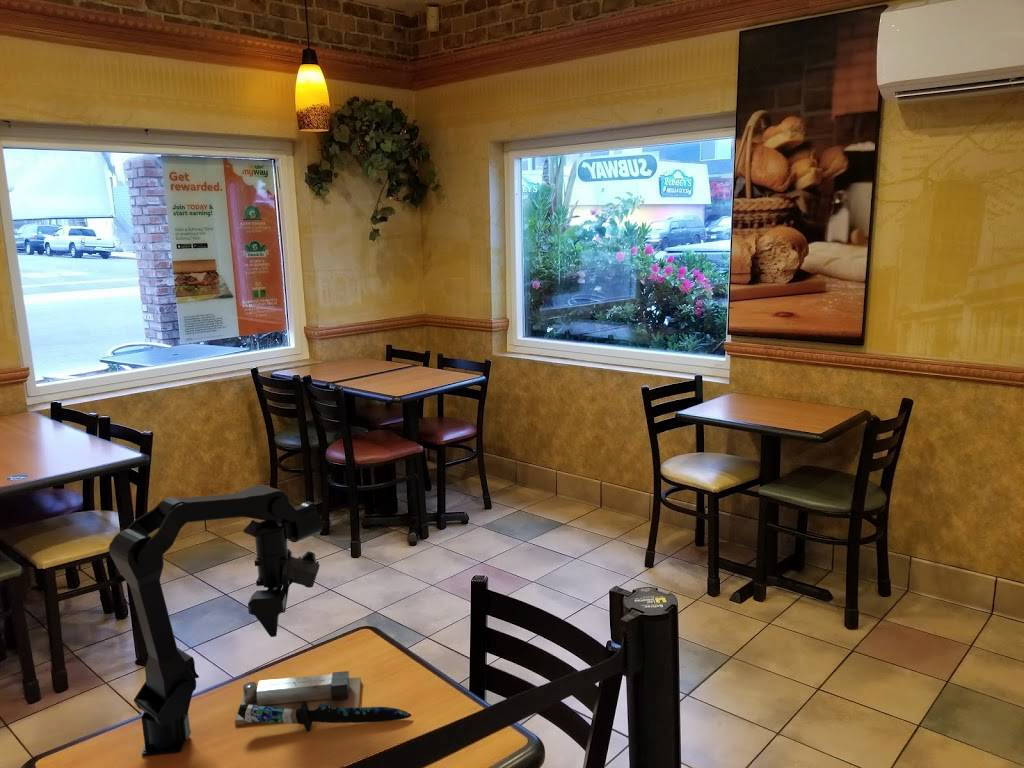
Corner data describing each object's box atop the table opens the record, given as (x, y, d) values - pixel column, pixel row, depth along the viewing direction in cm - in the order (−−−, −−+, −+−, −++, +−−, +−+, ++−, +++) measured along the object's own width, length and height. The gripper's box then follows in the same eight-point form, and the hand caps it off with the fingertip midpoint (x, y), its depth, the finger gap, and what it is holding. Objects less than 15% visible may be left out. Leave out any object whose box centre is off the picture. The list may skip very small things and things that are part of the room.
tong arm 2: (259, 699, 145) (258, 685, 144) (261, 692, 147) (260, 678, 146) (348, 691, 147) (347, 677, 146) (349, 684, 149) (348, 671, 148)
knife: (236, 729, 136) (236, 707, 135) (241, 718, 139) (241, 696, 138) (409, 737, 139) (410, 716, 138) (410, 726, 142) (412, 705, 141)
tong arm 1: (257, 707, 143) (255, 693, 142) (259, 700, 145) (258, 686, 144) (348, 698, 145) (347, 684, 144) (348, 691, 147) (347, 677, 146)
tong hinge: (243, 705, 143) (241, 690, 143) (245, 697, 146) (244, 682, 145) (256, 704, 144) (255, 688, 143) (258, 696, 146) (257, 681, 145)
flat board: (235, 725, 140) (234, 720, 139) (245, 692, 149) (245, 687, 149) (358, 713, 143) (358, 708, 142) (361, 681, 152) (360, 677, 152)
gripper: (307, 569, 140) (313, 647, 143) (321, 528, 158) (326, 598, 161) (244, 572, 138) (251, 651, 142) (265, 531, 157) (271, 602, 160)
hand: (278, 624), depth 151 cm, fingers open, 9 cm apart
